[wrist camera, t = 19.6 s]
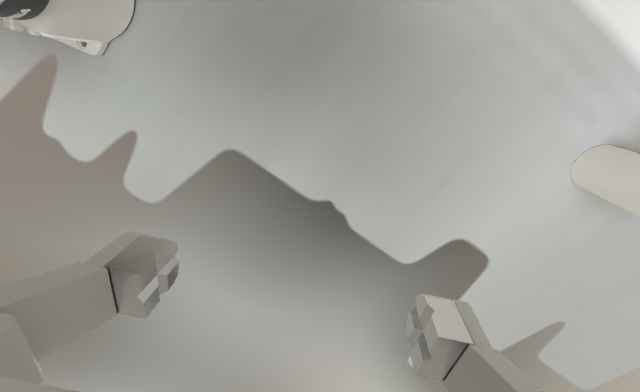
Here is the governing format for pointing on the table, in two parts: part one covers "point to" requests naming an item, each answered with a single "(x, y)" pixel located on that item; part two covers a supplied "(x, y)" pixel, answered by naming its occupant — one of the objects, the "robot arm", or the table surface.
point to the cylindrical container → (610, 175)
